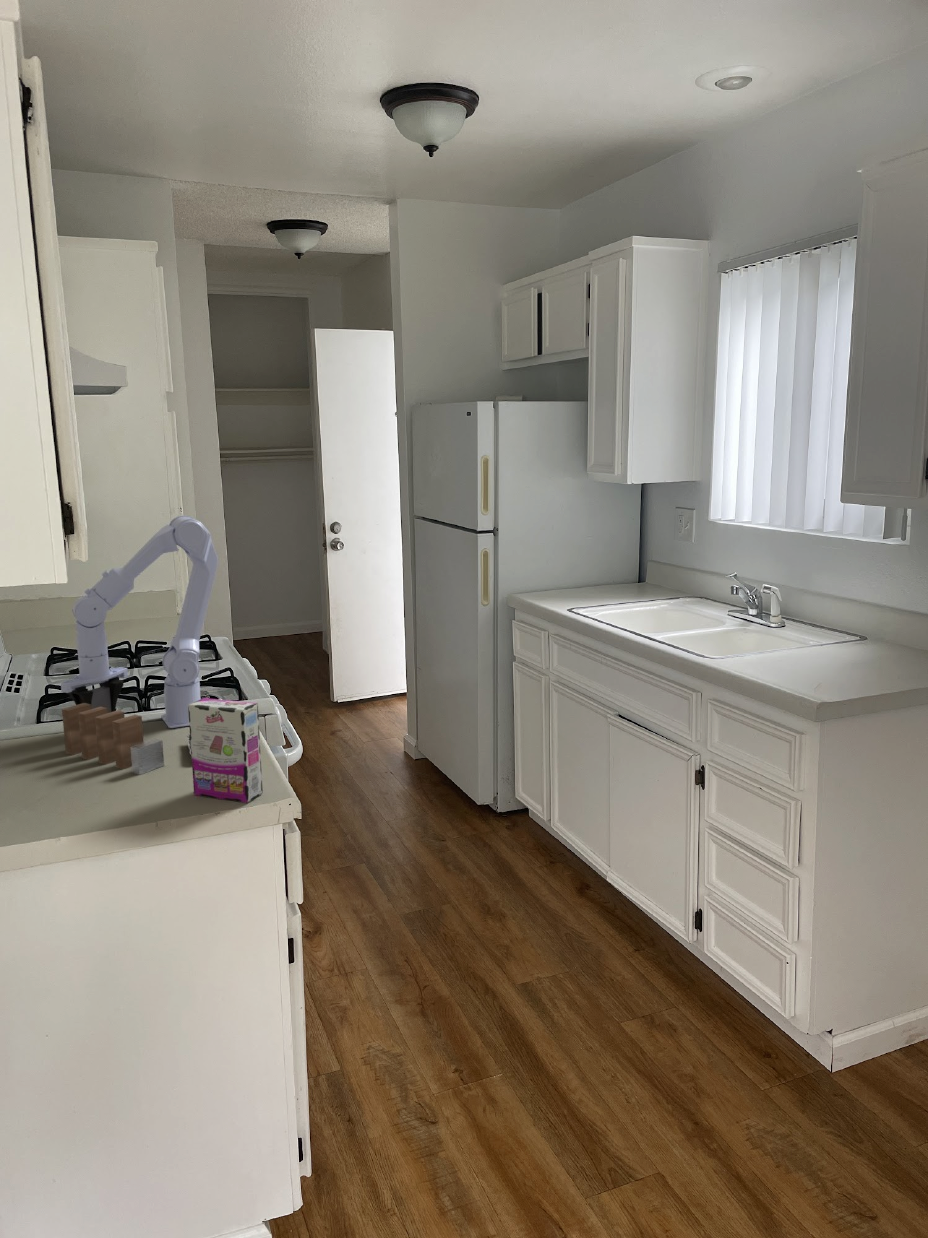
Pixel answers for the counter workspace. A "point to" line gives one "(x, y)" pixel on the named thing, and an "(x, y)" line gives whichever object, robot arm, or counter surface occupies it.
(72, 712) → the domino
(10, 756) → the counter surface
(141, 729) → the domino
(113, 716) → the domino
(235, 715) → the candy bar box
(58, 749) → the counter surface
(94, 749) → the domino
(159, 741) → the block
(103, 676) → the robot arm
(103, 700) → the domino
